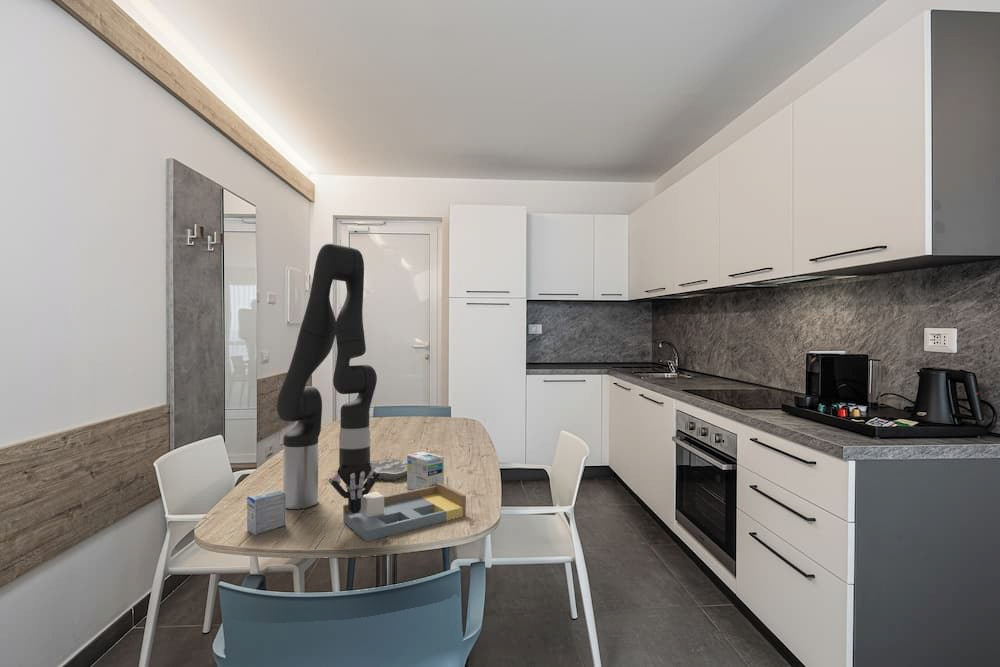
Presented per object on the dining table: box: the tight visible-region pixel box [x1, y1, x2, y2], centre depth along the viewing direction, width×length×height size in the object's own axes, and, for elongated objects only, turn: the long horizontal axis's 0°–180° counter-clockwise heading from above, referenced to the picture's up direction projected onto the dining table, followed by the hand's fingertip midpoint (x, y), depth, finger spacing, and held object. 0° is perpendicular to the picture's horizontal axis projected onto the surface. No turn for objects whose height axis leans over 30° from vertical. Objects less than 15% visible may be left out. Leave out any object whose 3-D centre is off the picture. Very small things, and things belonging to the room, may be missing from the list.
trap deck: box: [342, 482, 467, 542], centre depth 136 cm, size 15×28×6 cm, turn 127°
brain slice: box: [370, 458, 407, 481], centre depth 177 cm, size 20×17×3 cm
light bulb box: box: [406, 451, 445, 491], centre depth 160 cm, size 11×7×11 cm, turn 47°
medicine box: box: [246, 488, 287, 536], centre depth 129 cm, size 8×4×9 cm, turn 141°
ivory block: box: [361, 491, 385, 517], centre depth 133 cm, size 4×4×4 cm
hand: (354, 512), depth 130 cm, fingers closed
